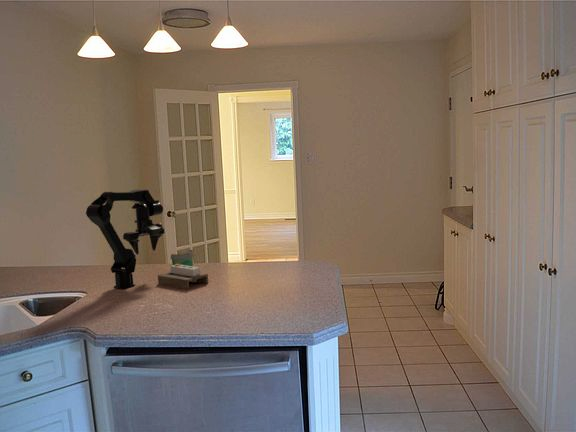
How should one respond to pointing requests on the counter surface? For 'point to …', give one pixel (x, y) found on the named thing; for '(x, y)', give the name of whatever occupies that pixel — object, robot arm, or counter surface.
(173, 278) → the keyhole board
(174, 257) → the food container
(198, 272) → the power strip
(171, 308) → the counter surface
